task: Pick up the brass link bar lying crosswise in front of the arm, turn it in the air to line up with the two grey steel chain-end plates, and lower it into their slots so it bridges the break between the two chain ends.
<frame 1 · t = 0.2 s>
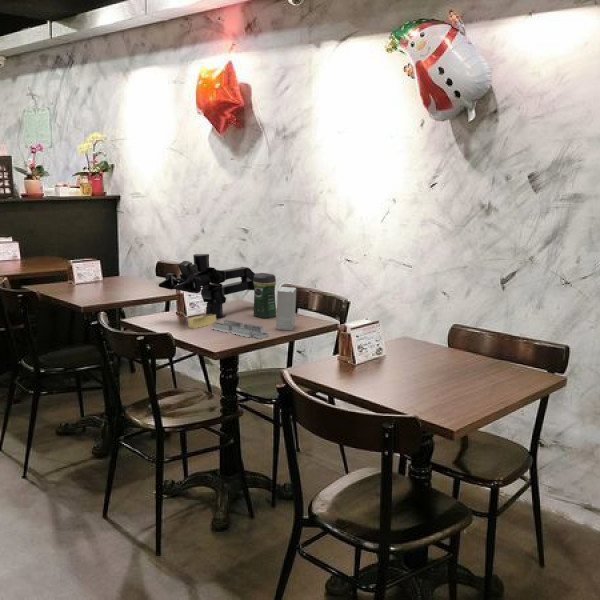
hand: (166, 286, 256), 16 cm above the table, tool horizontal, fingers open, 9 cm apart
master link bar: (202, 326, 263), on the table
chain ends: (237, 331, 253), on the table
coffee jar: (264, 316, 280), on the table
skincare box: (286, 328, 260), on the table
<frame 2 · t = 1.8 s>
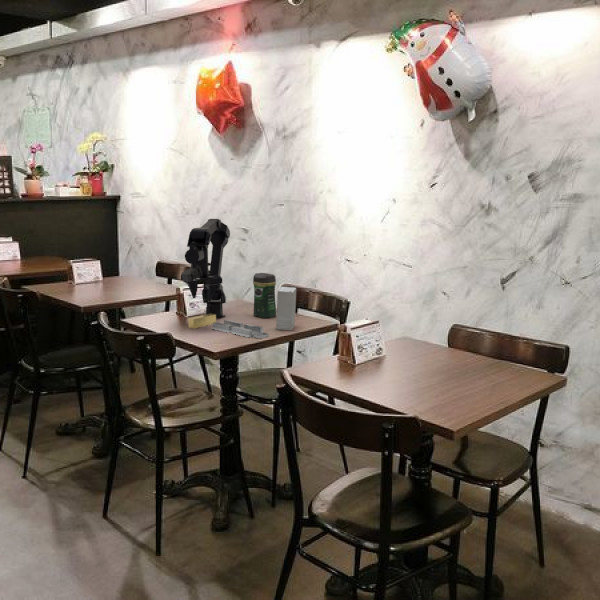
hand: (201, 299, 261), 11 cm above the table, tool pointing down, fingers open, 9 cm apart
nothing on the table moved.
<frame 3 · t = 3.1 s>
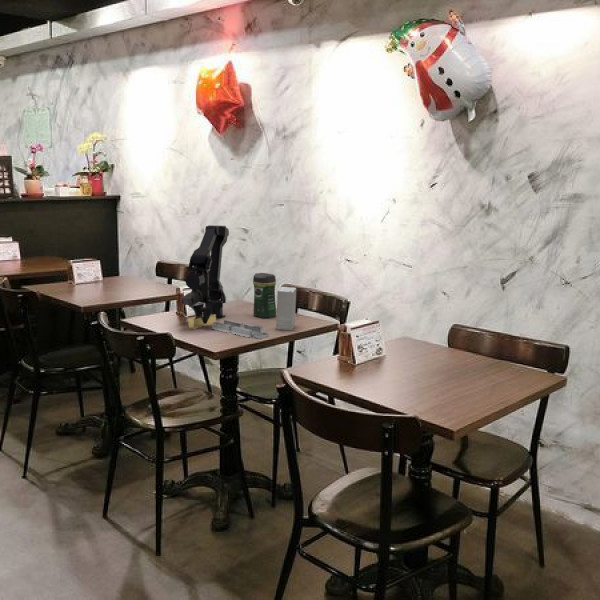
hand: (202, 322, 263), 1 cm above the table, tool pointing down, fingers closed on master link bar, 3 cm apart
master link bar: (202, 326, 263), on the table, touching gripper
everything else where it was.
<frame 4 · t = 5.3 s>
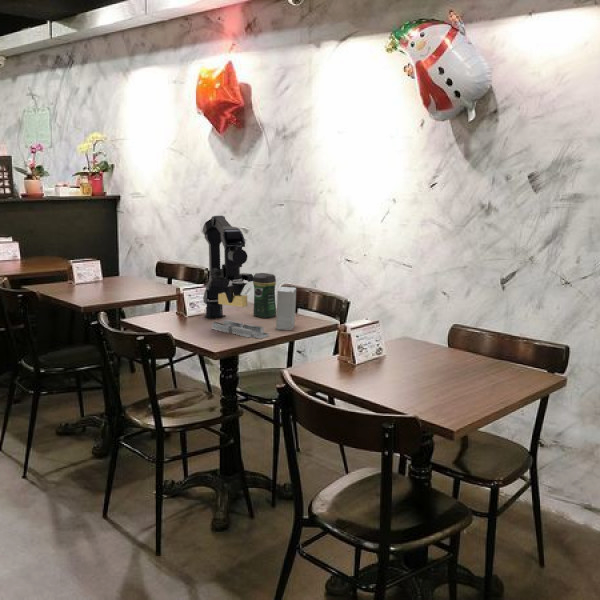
hand: (233, 302, 252), 11 cm above the table, tool pointing down, fingers closed on master link bar, 3 cm apart
master link bar: (232, 304, 252), point 10 cm above the table, touching gripper
everything else where it was.
when the fingers open (4 cm above the table, at t = 7.0 s): master link bar drops 2 cm, resting on chain ends.
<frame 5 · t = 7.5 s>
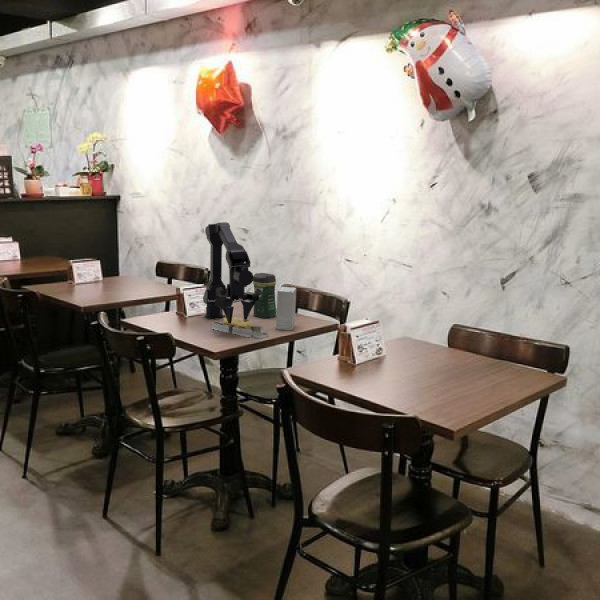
hand: (237, 321, 252), 4 cm above the table, tool pointing down, fingers open, 8 cm apart
master link bar: (237, 329, 253), point 1 cm above the table, touching chain ends
everything else where it was.
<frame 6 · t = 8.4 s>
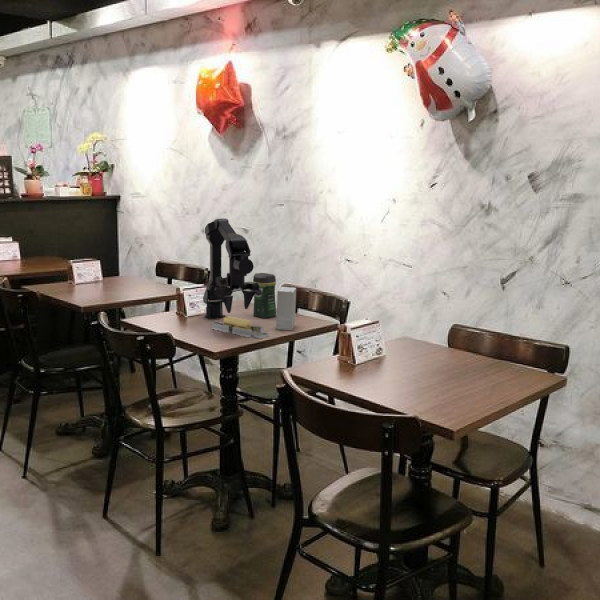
hand: (237, 310, 251), 8 cm above the table, tool pointing down, fingers open, 9 cm apart
nothing on the table moved.
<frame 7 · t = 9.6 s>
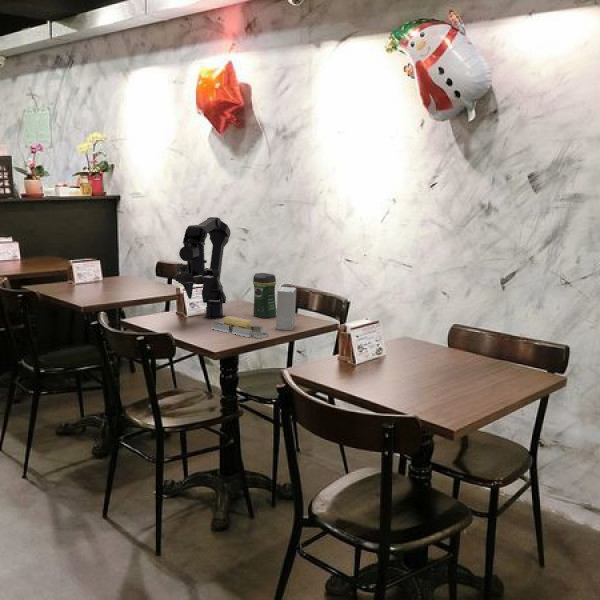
hand: (198, 296, 260), 12 cm above the table, tool pointing down, fingers open, 9 cm apart
nothing on the table moved.
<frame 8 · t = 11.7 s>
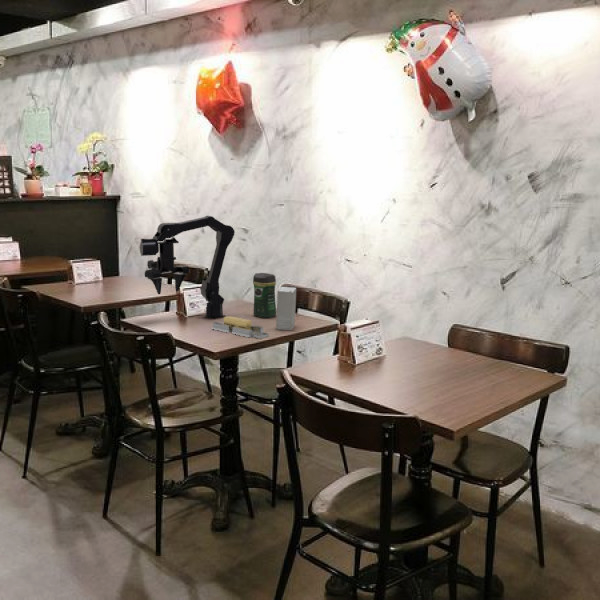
hand: (168, 292, 268), 12 cm above the table, tool pointing down, fingers open, 9 cm apart
nothing on the table moved.
at the end: master link bar 0.1 cm off-centre on the chain ends, point 1.0 cm above the chain ends's base; master link bar touching chain ends; the gripper is holding nothing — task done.
